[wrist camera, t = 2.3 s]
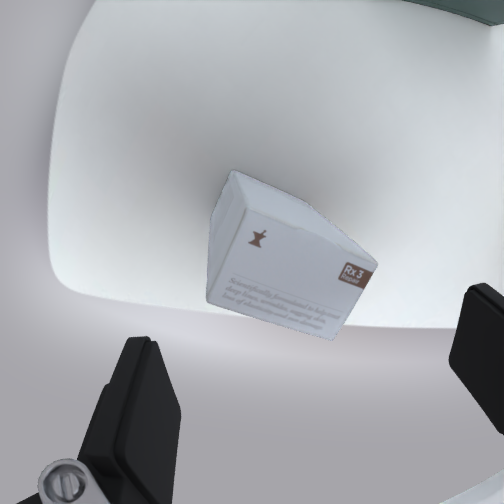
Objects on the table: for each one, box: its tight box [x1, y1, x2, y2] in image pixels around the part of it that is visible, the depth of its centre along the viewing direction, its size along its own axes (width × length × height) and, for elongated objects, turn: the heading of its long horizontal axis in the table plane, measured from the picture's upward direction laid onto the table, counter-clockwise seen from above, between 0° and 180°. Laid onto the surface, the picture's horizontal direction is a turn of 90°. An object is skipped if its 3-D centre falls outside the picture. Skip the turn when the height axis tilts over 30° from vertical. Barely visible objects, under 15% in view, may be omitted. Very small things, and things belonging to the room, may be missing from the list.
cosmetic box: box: [206, 170, 378, 341], centre depth 18 cm, size 6×4×12 cm
